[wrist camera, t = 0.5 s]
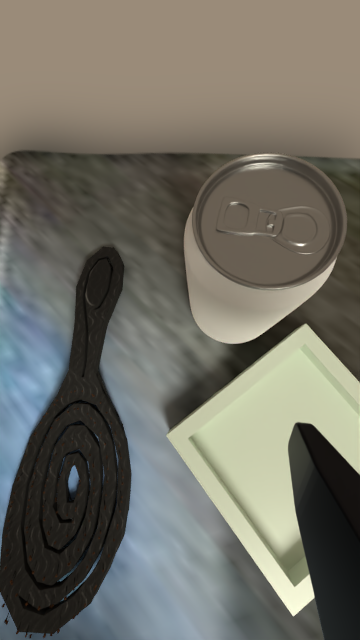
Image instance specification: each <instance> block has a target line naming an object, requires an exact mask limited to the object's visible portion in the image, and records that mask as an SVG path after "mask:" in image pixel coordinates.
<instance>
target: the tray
mask: <svg viewBox="0 0 360 640" xmlns="http://www.w3.org/2000/svg"><path fill="white" fill-rule="evenodd" d="M296 422H302V423H310V424H312V425H314V426H315V427H316V428H317V429H318V430H319V431H320V433H321V434H322V435H323V436H324V437H325V438H326V439H327V440H328V441H329V442H330V443H331V444H332V445H333V447H334V448H335V449H336V450H337V451H338V452H339V453H340V454H341V455H342V456H343V457H344V458H345V459H346V461H347V462H348V463H349V464H350V465H351V466H352V467H353V468H354V469H355V470H356V471H357V472H358V473H359V475H360V383H359V381H358V380H357V379H356V378H355V377H354V376H353V375H352V374H351V373H350V372H349V370H348V369H347V368H346V367H345V366H344V365H343V364H342V363H341V362H340V360H339V359H338V358H337V357H336V356H335V355H334V354H333V353H332V352H331V351H330V349H329V348H328V347H327V346H326V345H325V344H324V343H323V342H322V341H321V340H320V338H319V337H318V336H317V335H316V334H315V333H314V332H313V331H312V330H311V329H310V327H309V326H308V325H307V324H304V325H302V326H300V327H299V328H297V329H295V330H294V331H293V332H292V333H290V334H289V335H288V336H287V337H285V338H284V339H283V340H282V341H280V342H279V343H278V344H277V345H275V346H274V347H273V348H272V349H270V350H269V351H268V352H267V353H265V354H264V355H263V356H262V357H260V358H259V359H258V360H257V361H255V362H254V363H253V364H252V365H250V366H249V367H248V368H247V369H245V370H244V371H243V372H242V373H240V374H239V375H238V376H237V377H235V378H234V379H233V380H232V381H230V382H229V383H228V384H227V385H225V386H224V387H223V388H222V389H220V390H219V391H218V392H217V393H215V394H214V395H213V396H212V397H210V398H209V399H208V400H207V401H205V402H204V403H203V404H202V405H200V406H199V407H198V408H197V409H195V410H194V411H193V412H192V413H190V414H189V415H188V416H187V417H185V418H184V419H183V420H182V421H180V422H179V423H178V424H177V425H175V426H174V427H173V428H172V429H170V430H169V432H168V433H167V435H166V436H167V437H168V439H169V440H170V441H171V443H172V444H173V446H174V447H175V449H176V450H177V451H178V453H179V454H180V456H181V457H182V459H183V460H184V461H185V463H186V464H187V466H188V467H189V468H190V470H191V471H192V473H193V474H194V476H195V477H196V478H197V480H198V481H199V483H200V484H201V486H202V487H203V488H204V490H205V491H206V493H207V494H208V496H209V497H210V498H211V500H212V501H213V503H214V504H215V506H216V507H217V508H218V510H219V511H220V513H221V514H222V516H223V517H224V518H225V520H226V521H227V523H228V524H229V525H230V527H231V528H232V530H233V531H234V533H235V534H236V535H237V537H238V538H239V540H240V541H241V543H242V544H243V545H244V547H245V548H246V550H247V551H248V553H249V554H250V555H251V557H252V558H253V560H254V561H255V563H256V564H257V565H258V567H259V568H260V570H261V571H262V572H263V574H264V575H265V577H266V578H267V580H268V581H269V582H270V584H271V585H272V587H273V588H274V590H275V591H276V592H277V594H278V595H279V597H280V598H281V600H282V601H283V602H284V604H285V605H286V607H287V608H288V610H289V611H290V612H291V614H292V615H293V616H294V615H295V614H297V613H298V612H299V611H300V610H301V609H302V608H303V607H304V606H305V605H307V604H308V603H309V602H310V601H311V600H312V599H313V598H314V597H315V596H314V592H313V587H312V583H311V579H310V574H309V570H308V566H307V561H306V557H305V553H304V548H303V544H302V539H301V535H300V531H299V526H298V522H297V517H296V512H295V505H294V497H293V489H292V481H291V473H290V464H289V456H288V442H289V439H290V436H291V433H292V430H293V427H294V424H295V423H296Z"/></svg>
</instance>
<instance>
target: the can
mask: <svg viewBox="0 0 360 640" xmlns="http://www.w3.org/2000/svg"><path fill="white" fill-rule="evenodd" d="M346 231H347V215H346V209H345V205H344V202H343V200H342V197H341V195H340V193H339V191H338V190H337V188H336V186H335V185H334V184H333V182H332V181H331V180H330V179H329V178H328V177H327V176H326V175H325V174H324V173H323V172H322V171H321V170H319V169H318V168H316V167H315V166H313V165H312V164H310V163H308V162H306V161H304V160H302V159H300V158H297V157H294V156H291V155H286V154H281V153H255V154H249V155H245V156H242V157H239V158H236V159H234V160H232V161H230V162H228V163H226V164H224V165H223V166H221V167H220V168H219V169H217V170H216V171H215V172H214V173H213V174H212V175H211V176H210V177H209V178H208V179H207V180H206V181H205V183H204V184H203V186H202V187H201V189H200V191H199V193H198V195H197V197H196V200H195V203H194V207H193V208H192V210H191V212H190V214H189V217H188V219H187V223H186V227H185V233H184V256H185V266H186V275H187V284H188V292H189V300H190V307H191V312H192V315H193V318H194V320H195V322H196V323H197V325H198V326H199V328H200V329H201V330H202V331H203V332H204V333H205V334H206V335H208V336H209V337H211V338H213V339H215V340H217V341H220V342H223V343H229V344H239V343H244V342H248V341H250V340H253V339H255V338H256V337H258V336H260V335H261V334H263V333H264V332H265V331H267V330H268V329H269V328H271V327H272V326H273V325H275V324H276V323H277V322H279V321H280V320H281V319H283V318H284V317H285V316H287V315H288V314H289V313H291V312H292V311H293V310H295V309H296V308H297V307H298V306H300V305H301V304H302V303H304V302H305V301H306V300H307V299H309V298H310V297H311V296H312V295H313V294H314V293H315V292H316V291H317V290H318V289H319V288H320V287H321V286H322V285H323V283H324V282H325V281H326V280H327V278H328V276H329V275H330V273H331V271H332V269H333V267H334V264H335V261H336V258H337V256H338V254H339V252H340V250H341V248H342V246H343V243H344V240H345V236H346Z"/></svg>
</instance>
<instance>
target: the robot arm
mask: <svg viewBox="0 0 360 640" xmlns="http://www.w3.org/2000/svg"><path fill="white" fill-rule="evenodd" d="M288 456H289V464H290V473H291V481H292V489H293V497H294V505H295V512H296V517H297V522H298V526H299V531H300V535H301V539H302V544H303V548H304V553H305V557H306V561H307V566H308V570H309V574H310V579H311V583H312V587H313V592H314V596H315V601H316V605H317V609H318V614H319V618H320V622H321V627H322V631H323V636H324V640H360V475H359V473H358V472H357V471H356V470H355V469H354V468H353V467H352V466H351V465H350V464H349V463H348V462H347V461H346V459H345V458H344V457H343V456H342V455H341V454H340V453H339V452H338V451H337V450H336V449H335V448H334V447H333V445H332V444H331V443H330V442H329V441H328V440H327V439H326V438H325V437H324V436H323V435H322V434H321V433H320V431H319V430H318V429H317V428H316V427H315V426H314V425H312V424H310V423H302V422H296V423H295V424H294V427H293V430H292V433H291V436H290V439H289V442H288Z"/></svg>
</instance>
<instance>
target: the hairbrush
mask: <svg viewBox="0 0 360 640" xmlns="http://www.w3.org/2000/svg"><path fill="white" fill-rule="evenodd" d="M108 259H109V260H110V261H111V264H112V266H113V268H111V264H110V263H109V261H108ZM123 272H124V267H123V265H122V261H121V258H120V256H119V254H118V253H117V251H116V250H115V248H111V247H102V248H101V249H100V250H99V251H98V252H97V253H95V254H94V255H93V256H92V257H91V258H90V259H88V260H87V262H86V264H85V267H84V269H83V272H82V274H81V277H80V279H79V282H78V284H77V287H76V309H75V324H74V332H73V340H72V348H71V356H70V363H69V370H68V372H67V375H66V377H65V379H64V381H63V383H62V386H61V388H60V390H59V392H58V394H57V396H56V397H55V399H54V401H53V402H52V404H51V405H50V407H49V408H48V410H47V412H46V413H45V415H44V416H43V418H42V419H41V421H40V423H39V424H38V426H37V427H36V429H35V430H34V432H33V434H32V435H31V437H30V439H29V442H28V445H27V448H26V450H25V453H24V456H23V459H22V461H21V464H20V467H19V470H18V472H17V475H16V478H15V481H14V483H13V486H12V491H11V495H10V500H9V505H8V509H7V514H6V518H5V523H4V528H3V534H2V547H1V559H0V592H1V595H2V597H3V599H4V601H5V603H6V605H7V608H8V610H9V612H10V614H11V616H12V619H13V621H14V623H15V625H16V627H17V630H18V631H17V633H16V634H18V632H26V635H25V638H26V636H27V632H33V633H44V636H43V638H44V637H45V636H46V633H49V634H50V636H52V634H54V633H55V632H56V631H57V632H58V633H59V631H60V630H59V629H60V628H61V627H62V626H64V625H65V624H66V623H67V622H68V621H70V620H71V619H74V618H75V616H76V615H78V614H79V612H81V611H82V610H83V609H84V608H86V607H87V606H88V605H89V604H90V603H91V602H92V600H93V598H94V596H95V595H96V593H97V592H98V590H99V588H100V586H101V584H102V582H103V580H104V578H105V576H106V574H107V573H108V571H109V569H110V567H111V564H112V562H113V559H114V557H115V554H116V552H117V550H118V548H119V546H120V543H121V541H122V539H123V537H124V534H125V528H126V522H127V515H128V511H129V501H130V491H131V490H130V487H131V467H130V459H129V451H128V443H127V438H126V436H125V432H124V427H123V424H122V422H121V424H122V426H121V424H120V422H119V419H120V418H119V419H118V417H119V416H118V414H117V412H116V410H115V408H114V406H113V404H112V402H111V400H110V398H109V396H108V394H107V391H106V389H105V387H104V384H103V382H102V379H101V377H100V374H99V372H98V368H99V363H100V358H101V353H102V349H103V344H104V339H105V334H106V329H107V325H108V323H109V320H110V318H111V316H112V313H113V311H114V308H115V306H116V304H117V301H118V299H119V296H120V294H121V291H122V286H123ZM82 400H84V401H87V402H89V403H84V402H81V403H77V402H79V401H82ZM91 403H92V404H95V405H96V406H97V407H98V409H99V410H100V411H99V410H98V409H97V408H96V407H95V406H93V405H92V404H91ZM71 404H73V405H71ZM69 405H71V406H70V407H69V408H68V409H67V410H66V411H64V410H65V409H66V408H67V407H68V406H69ZM63 411H64V412H63ZM62 412H63V413H62ZM61 413H62V414H61ZM60 414H61V415H60ZM59 415H60V416H59ZM117 416H118V417H117ZM105 420H106V421H105ZM77 421H82V422H83V423H84V424H85V425H86V426H85V425H82V424H74V425H70V424H72V423H74V422H77ZM120 421H121V420H120ZM106 422H107V423H108V424H107V423H106ZM51 425H52V426H51ZM69 425H70V426H69ZM108 425H110V426H108ZM68 426H69V427H68ZM67 427H68V429H67V430H66V431H65V433H64V434H63V436H62V437H61V438H60V440H59V441H58V438H59V436H60V435H61V434H62V432H63V431H64V430H65V429H66V428H67ZM109 427H111V429H110V428H109ZM122 427H123V429H122ZM49 429H50V430H49ZM111 430H112V432H111ZM48 431H49V433H48ZM92 431H93V432H94V433H95V434H96V435H97V436H98V438H99V442H98V439H97V438H96V436H95V434H94V433H93V432H92ZM47 433H48V435H47ZM46 435H47V437H46ZM112 435H113V436H112ZM44 439H45V441H44ZM113 439H114V440H113ZM57 441H58V443H57ZM43 442H44V443H43ZM56 443H57V444H56ZM114 443H115V444H114ZM42 444H43V445H42ZM99 444H100V445H99ZM41 446H42V447H41ZM115 447H116V450H115ZM40 448H41V449H40ZM77 449H80V451H81V452H82V454H83V455H84V456H83V455H82V454H80V453H79V452H78V451H77V452H74V453H72V454H69V453H70V452H71V451H74V450H77ZM53 450H54V451H53ZM39 451H40V452H39ZM116 451H117V455H118V459H119V463H118V466H117V458H116ZM52 452H53V455H52ZM38 454H39V456H38ZM68 454H69V455H68ZM51 456H52V459H51ZM65 456H66V458H65V462H64V465H63V468H62V471H61V475H60V476H59V473H60V470H61V466H62V462H63V459H64V457H65ZM37 457H38V458H37ZM50 460H51V463H50ZM87 461H88V463H89V469H88V463H87ZM35 463H36V465H35ZM49 464H50V467H49ZM74 465H75V466H76V469H77V472H78V475H79V477H80V480H79V482H80V483H79V486H78V489H77V493H76V496H75V499H74V500H72V499H71V497H70V499H71V501H69V495H70V494H69V491H68V478H69V475H70V471H71V468H72V467H73V466H74ZM34 467H35V468H34ZM103 468H104V474H105V478H104V485H103V484H102V482H103ZM48 469H49V471H48ZM47 473H48V476H47ZM89 473H90V474H89ZM117 476H118V478H117ZM58 480H59V481H58ZM90 483H91V487H90ZM117 487H118V490H117ZM102 490H103V492H102ZM116 492H117V493H116ZM101 494H102V495H101ZM116 495H117V506H116V510H115V504H116ZM56 496H57V497H56ZM88 496H89V497H88ZM100 500H101V501H100ZM87 501H88V502H87ZM86 505H87V506H86ZM114 511H115V513H114ZM112 513H113V514H112ZM113 515H114V516H113ZM71 518H72V519H71ZM84 518H85V519H84ZM112 518H113V519H112ZM83 520H84V521H83ZM82 522H83V523H82ZM81 525H82V526H81ZM110 525H111V526H110ZM97 526H98V527H97ZM80 527H81V528H80ZM96 528H97V530H96ZM109 528H110V529H109ZM79 529H80V530H79ZM95 530H96V533H95ZM78 532H79V533H78ZM77 533H78V535H77V537H76V539H75V540H74V541H73V542H72V543H71V544H70V545H68V546H66V547H64V546H65V545H66V544H67V543H68V542H69V541H70V540H71V539H73V537H74V536H75V535H76V534H77ZM94 533H95V535H94ZM93 535H94V537H93ZM92 537H93V540H92ZM91 540H92V542H91ZM90 542H91V544H90ZM104 544H105V545H104ZM89 545H90V547H89V549H88V552H87V554H86V555H85V557H84V558H83V560H82V561H81V563H80V564H79V565H78V566H77V568H76V569H75V570H74V571H73V572H72V573H71V574H70V575H68V576H67V577H66V578H65V579H64V580H62V581H58V580H59V579H61V578H62V577H63V576H64V575H66V574H67V573H69V572H70V571H71V570H72V569H73V568H74V566H75V565H76V564H77V562H78V561H79V560H80V558H81V557H82V555H83V553H84V552H85V551H86V549H87V548H88V546H89ZM103 546H104V548H103ZM62 547H64V548H62ZM61 548H62V549H61ZM102 548H103V551H102V554H101V557H100V559H99V561H98V563H97V565H96V567H95V568H94V570H93V572H92V573H91V574H90V576H89V577H88V578H87V579H86V580H85V581H84V582H83V584H82V585H81V586H80V587H79V588H78V589H77V590H76V591H74V592H73V593H72V594H71V595H70V596H69V597H65V596H66V595H68V594H69V593H70V592H71V591H72V590H74V588H75V587H76V586H78V585H79V584H80V583H81V582H82V581H83V580H84V578H85V577H86V576H87V574H88V573H89V571H90V570H91V568H92V566H93V564H94V562H95V560H96V559H97V557H98V555H99V553H100V551H101V550H102ZM57 581H58V582H57ZM64 597H65V598H64ZM63 598H64V600H63V601H61V600H62V599H63ZM5 603H4V604H3V606H2V608H3V607H4V606H5ZM8 614H9V613H8ZM7 617H8V615H7ZM9 617H10V616H9ZM5 622H6V625H7V624H8V621H7V618H6V620H5ZM5 622H4V623H5ZM58 633H57V634H58ZM31 636H32V634H30V637H29V638H31Z"/></svg>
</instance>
